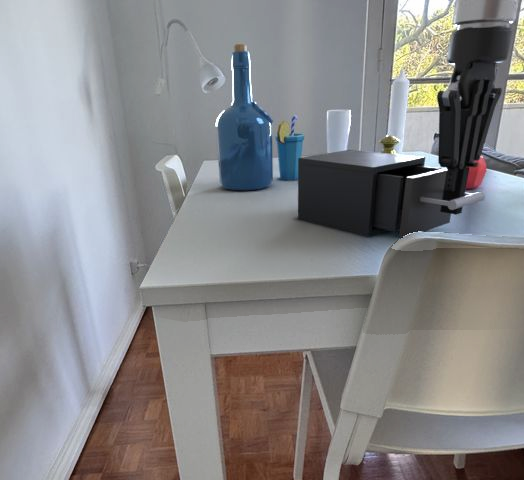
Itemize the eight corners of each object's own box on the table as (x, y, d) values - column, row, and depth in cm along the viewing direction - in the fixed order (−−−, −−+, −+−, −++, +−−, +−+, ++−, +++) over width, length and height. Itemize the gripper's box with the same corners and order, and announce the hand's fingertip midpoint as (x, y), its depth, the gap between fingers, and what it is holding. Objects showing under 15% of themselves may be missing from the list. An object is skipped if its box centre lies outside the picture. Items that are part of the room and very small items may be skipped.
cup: (283, 173, 133) (282, 114, 126) (309, 173, 131) (311, 113, 124) (269, 182, 122) (268, 118, 114) (298, 183, 120) (299, 117, 112)
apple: (457, 191, 105) (464, 153, 101) (440, 185, 112) (445, 149, 108) (490, 189, 106) (498, 151, 102) (471, 183, 113) (477, 147, 109)
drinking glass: (350, 167, 139) (353, 110, 131) (327, 168, 138) (329, 111, 131) (344, 163, 145) (347, 109, 137) (323, 164, 144) (324, 110, 137)
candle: (404, 164, 141) (414, 66, 129) (406, 167, 135) (417, 66, 123) (379, 164, 142) (388, 68, 130) (380, 167, 136) (389, 67, 124)
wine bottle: (218, 192, 112) (207, 43, 97) (221, 182, 124) (212, 47, 109) (275, 190, 112) (273, 41, 97) (273, 180, 124) (271, 45, 109)
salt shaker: (406, 177, 122) (411, 135, 117) (386, 181, 118) (390, 138, 114) (384, 174, 127) (388, 133, 122) (365, 177, 124) (368, 136, 119)
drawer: (484, 229, 76) (496, 171, 71) (441, 247, 69) (451, 183, 64) (375, 208, 90) (380, 158, 86) (331, 220, 83) (333, 167, 79)
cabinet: (417, 220, 85) (425, 157, 80) (368, 236, 78) (374, 167, 72) (346, 206, 96) (349, 149, 91) (297, 218, 89) (298, 157, 84)
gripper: (480, 32, 67) (451, 201, 79) (427, 28, 60) (404, 215, 71) (534, 26, 62) (495, 209, 73) (483, 22, 55) (449, 225, 66)
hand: (450, 212), depth 72 cm, fingers closed
